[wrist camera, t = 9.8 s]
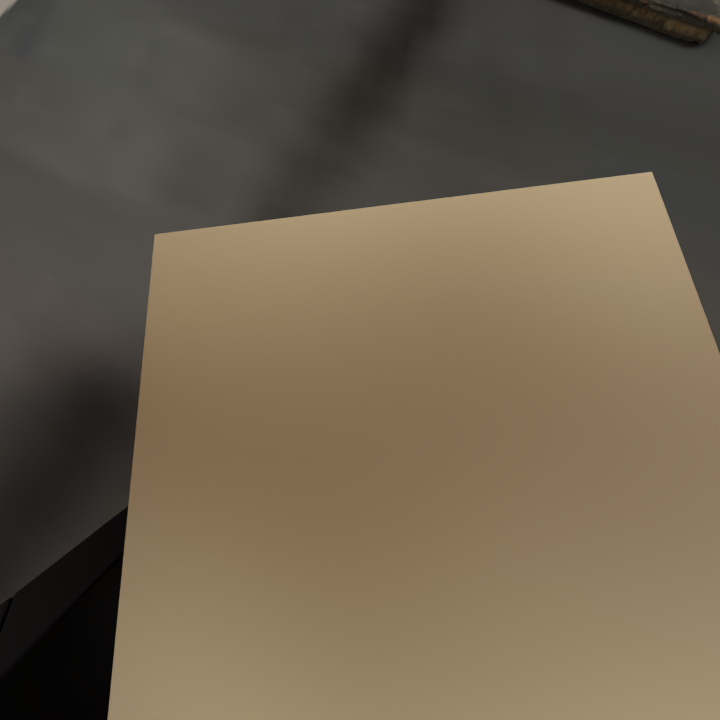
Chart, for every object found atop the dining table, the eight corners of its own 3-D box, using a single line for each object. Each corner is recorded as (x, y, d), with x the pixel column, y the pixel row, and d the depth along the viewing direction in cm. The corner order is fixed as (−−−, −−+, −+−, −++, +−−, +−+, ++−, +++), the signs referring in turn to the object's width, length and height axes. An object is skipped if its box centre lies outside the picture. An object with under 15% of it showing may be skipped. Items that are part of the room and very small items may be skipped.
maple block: (469, 523, 15) (913, 876, 2) (345, 532, 15) (91, 883, 2) (450, 400, 16) (652, 171, 3) (338, 410, 16) (154, 233, 4)
